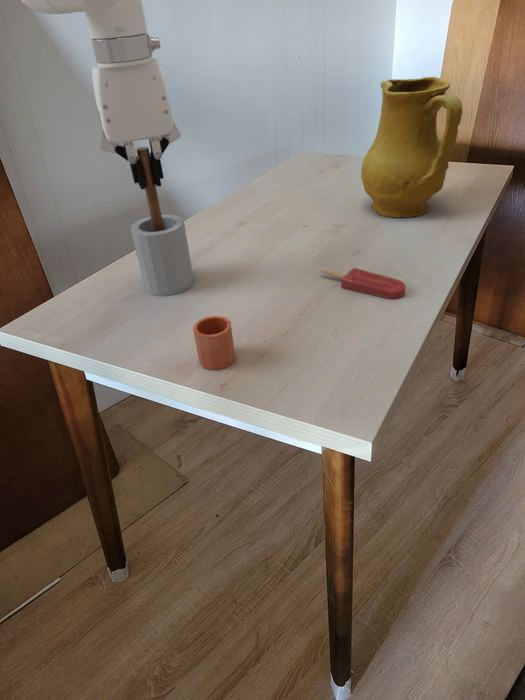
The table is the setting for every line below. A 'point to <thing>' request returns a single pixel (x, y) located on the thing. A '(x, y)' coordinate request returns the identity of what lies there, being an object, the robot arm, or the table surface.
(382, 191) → the pitcher
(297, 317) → the table surface
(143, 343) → the table surface
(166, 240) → the grey hollow cylinder
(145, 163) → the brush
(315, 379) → the table surface
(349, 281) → the popsicle
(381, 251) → the table surface
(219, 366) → the pen cup
